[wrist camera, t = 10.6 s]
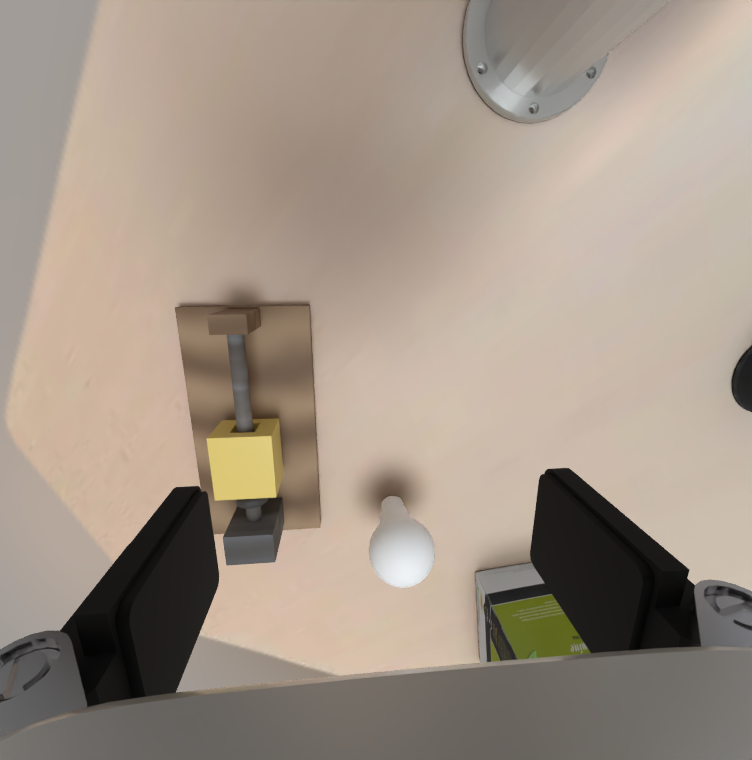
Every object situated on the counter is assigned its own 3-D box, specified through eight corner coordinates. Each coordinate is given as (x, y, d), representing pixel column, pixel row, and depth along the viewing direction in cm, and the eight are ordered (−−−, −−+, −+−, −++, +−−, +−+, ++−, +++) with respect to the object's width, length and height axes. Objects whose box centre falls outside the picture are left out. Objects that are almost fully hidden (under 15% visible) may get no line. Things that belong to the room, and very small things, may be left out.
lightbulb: (353, 508, 43) (357, 584, 32) (385, 467, 42) (400, 532, 31) (396, 533, 44) (413, 614, 33) (428, 494, 43) (456, 565, 32)
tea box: (550, 647, 51) (630, 791, 37) (477, 660, 50) (531, 811, 36) (551, 555, 47) (642, 677, 33) (472, 568, 46) (530, 697, 32)
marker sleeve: (221, 420, 36) (206, 438, 32) (279, 418, 37) (271, 435, 32) (228, 476, 38) (214, 500, 34) (283, 474, 38) (276, 497, 34)
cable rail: (180, 306, 35) (141, 313, 28) (309, 305, 36) (302, 311, 29) (211, 527, 42) (185, 577, 35) (320, 520, 43) (316, 568, 36)
